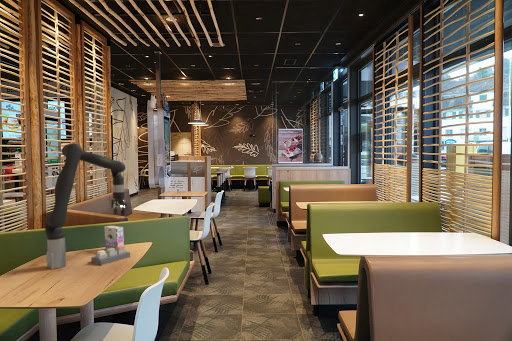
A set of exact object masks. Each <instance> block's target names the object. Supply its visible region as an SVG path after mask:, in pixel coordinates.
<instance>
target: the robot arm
mask: <svg viewBox="0 0 512 341" xmlns="http://www.w3.org/2000/svg"><path fill="white" fill-rule="evenodd" d="M61 153H62V155H63V156H64V157H65V160H64V164H63V167H62V169H61V170H60V172H59V174H58V176H57V178H56V182H55V186H54V206H53V209H52V210H51V211H49V212H48V213H46V215H45V217H44V229H45V234H46V239H47V240H46V241H47V242H46V243H47V251H46V268H48V269H49V270H54V269H60V268H64V267H66V266H67V258H66V257H67V256H66V239H65V238H66V236H65V235H66V234H65V231H64V230H63V226H64V225H65V223H66V220H67V214H68V207H69V202H70V198H71V194H72V191H73V187H74V183H75V177H76V174H77V169H78V165H79V164H80V161H81V162H86V163H89V164H92V165H94V166H97V167H100V168H102V169H108V170H110V173H111V177H112V198H111V203H110V204H111V206H110V208H111V209H113V215H118V208H120V216H125V210H127V208H128V206H127V200H124V199H125V182H124V181H125V180H124V179H125V178H124V176H123V175H122V173H123V172H125V171H126V165H125V163H123V162H121V161H120V160H116V159H115V160H114V159H111V158H109V157H105V156H103V155H100V154H95V153H92V152H88V151H85V150H82V147H81V145H80V144H78V143H67V144H65V145H64V146H63V147H62V148H61Z"/></svg>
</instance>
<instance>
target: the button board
mask: <svg viewBox="0 0 512 341" xmlns="http://www.w3.org/2000/svg"><path fill="white" fill-rule="evenodd" d="M128 258H131V252H130V251H127V249H126V248H124V250H120V251H119V250H116V249H115V252H112V253H108V252H107V251H106V254H104V255H100V256H99V255H97V253H96V254H94V256H92V257H91V263H93V264H96V265H99V266H103V265H107V264H111V263H114V262H118V261H121V260H124V259H128Z"/></svg>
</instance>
